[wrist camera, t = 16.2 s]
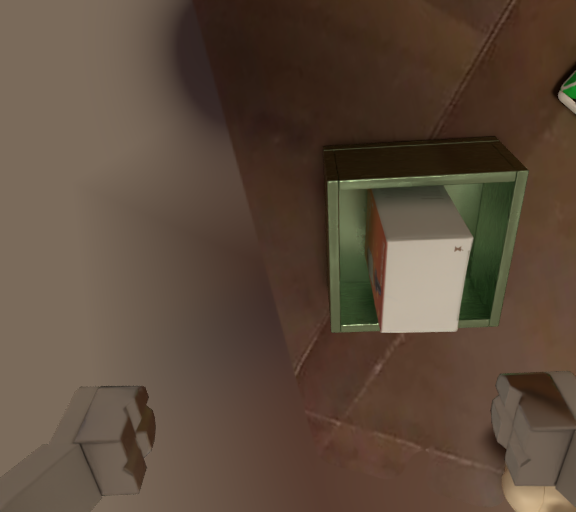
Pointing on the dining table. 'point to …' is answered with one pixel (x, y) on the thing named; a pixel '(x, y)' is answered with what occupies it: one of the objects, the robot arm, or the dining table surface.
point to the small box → (416, 258)
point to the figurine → (534, 497)
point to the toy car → (569, 92)
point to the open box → (413, 173)
